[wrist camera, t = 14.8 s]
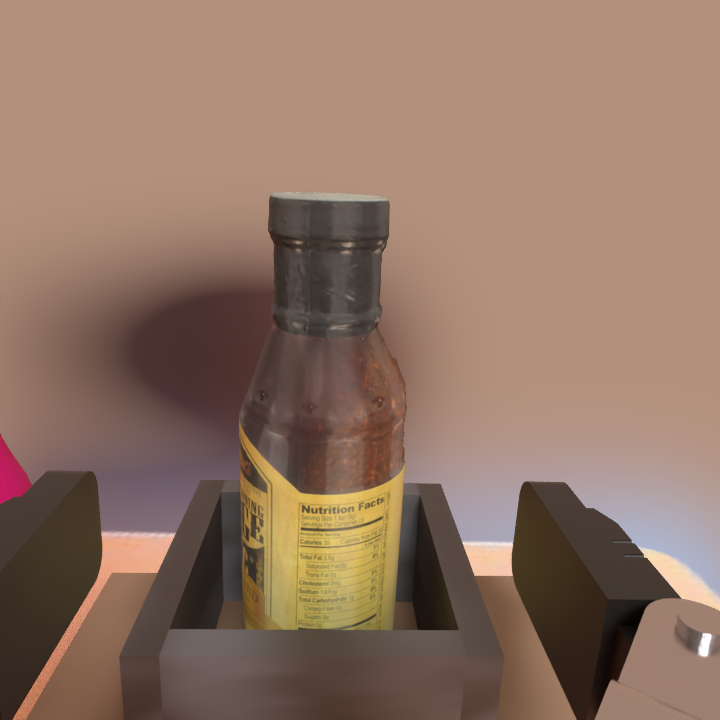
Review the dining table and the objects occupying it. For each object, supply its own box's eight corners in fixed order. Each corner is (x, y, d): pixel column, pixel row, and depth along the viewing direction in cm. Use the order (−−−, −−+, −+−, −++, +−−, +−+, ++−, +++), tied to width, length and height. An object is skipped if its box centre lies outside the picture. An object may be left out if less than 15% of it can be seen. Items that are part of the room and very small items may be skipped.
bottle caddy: (-42, 867, 19) (-75, 682, 17) (113, 589, 33) (104, 468, 31) (641, 856, 20) (678, 682, 18) (518, 592, 34) (532, 476, 32)
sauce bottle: (263, 619, 29) (261, 190, 24) (393, 630, 29) (420, 196, 24) (222, 734, 23) (209, 188, 18) (388, 751, 23) (423, 196, 17)
